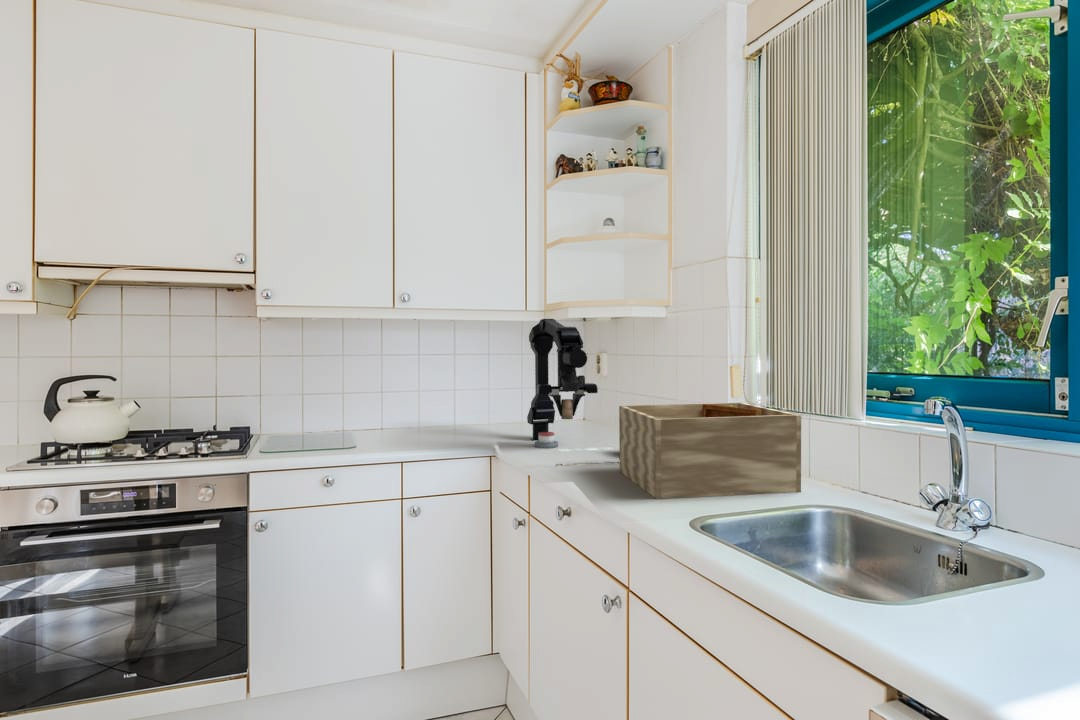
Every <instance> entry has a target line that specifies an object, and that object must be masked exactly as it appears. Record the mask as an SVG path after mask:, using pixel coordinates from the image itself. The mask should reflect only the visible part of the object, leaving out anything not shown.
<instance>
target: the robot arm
mask: <svg viewBox="0 0 1080 720" xmlns="http://www.w3.org/2000/svg"><path fill="white" fill-rule="evenodd" d="M528 340H529V341H528V342H529V343H530V348H531V350H532V352H533V353H534V357H535V358H534V361H535V362H534V366H535V370H534V372H535V373H534V375H535V377H534V378H535V379H534V380H535V393H534V394H535V395H534V397H532V398H533V399H532V400H531V402H530V407H529V410H528V414H527V416H526V421H527V423H528V424H529V425H532V437H530V440H531V442H536V441H539V435H538V433H540V432H550V431H549V429H550V428H549V427H550V426H549V424H554V422H555V417H556V416H555V415H556V409H555V406H556V407H557V411H558V414H559V416H560V417H561V416H562V407H561V400H562V399H561V398H562V396H561V394H560V393H562V392H565V393H568V392H572V400H573V417H574V416H575V415H576V412H577V408H578V406H579V403H580V401H581V399H582V397H585V396H586V394H585V393H588V394H598V392H599V391H598V389H599V388H598V385H597V384H596V383H591V382H590V383H589V382H586V376H585V375H577V369H580V368H583V367H584V366H585V365H586V364H587V362H588V355H587V353H586V351H585V350H583V348H584V341H583V339H582V337H581V334H580V332H579V330H578V328H577V327H576V326H565V325H563V324H561V323H559V322H558V321H556V319H554V318H542V319H540V320H539V323H537V324H536V325H534V326H532V327H531V329H530V332H529V335H528ZM554 343H555V345H556V347H557V348H556V352H557V385H555V386H552V385H551V384H549V354H550V352H551V351H552V349H553V346H554ZM551 397H552V399H553V400H554V401H553V400H552V399H551ZM554 404H555V406H554Z"/></svg>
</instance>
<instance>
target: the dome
mask: <svg viewBox="0 0 1080 720" xmlns="http://www.w3.org/2000/svg"><path fill="white" fill-rule="evenodd" d="M538 435H539V443H545V444H547V443H554V441H555V432H554V431H553V432H552V431H549V432H540V433H538Z"/></svg>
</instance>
